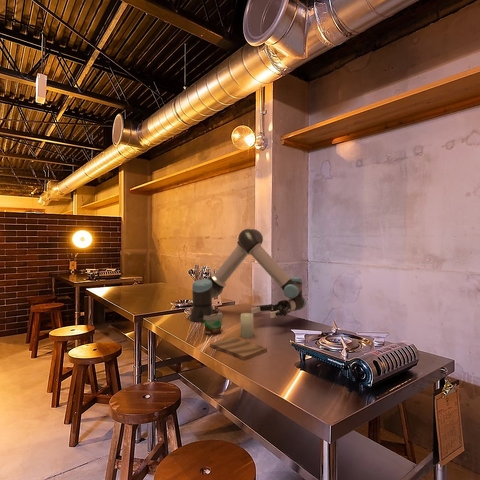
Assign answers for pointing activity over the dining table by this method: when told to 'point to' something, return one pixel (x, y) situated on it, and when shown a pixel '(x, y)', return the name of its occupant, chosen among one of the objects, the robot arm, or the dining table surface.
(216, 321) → the food container
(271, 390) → the dining table surface
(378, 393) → the dining table surface
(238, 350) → the walnut board
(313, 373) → the dining table surface
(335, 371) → the dining table surface
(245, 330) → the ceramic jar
